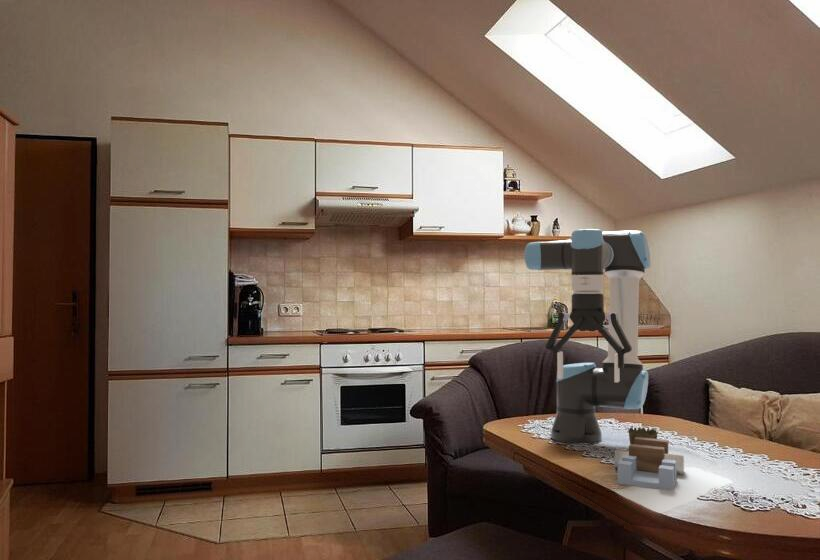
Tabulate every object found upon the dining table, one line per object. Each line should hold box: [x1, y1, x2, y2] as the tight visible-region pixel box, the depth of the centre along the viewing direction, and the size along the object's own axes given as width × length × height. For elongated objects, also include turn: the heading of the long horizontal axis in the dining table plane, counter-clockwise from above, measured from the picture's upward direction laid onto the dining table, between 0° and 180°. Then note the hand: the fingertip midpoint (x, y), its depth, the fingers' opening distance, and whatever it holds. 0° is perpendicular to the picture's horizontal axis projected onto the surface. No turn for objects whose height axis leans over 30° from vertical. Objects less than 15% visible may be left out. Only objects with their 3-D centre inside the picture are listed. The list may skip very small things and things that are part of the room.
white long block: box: [613, 448, 685, 476], centre depth 165 cm, size 5×16×5 cm, turn 63°
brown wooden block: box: [628, 437, 669, 473], centre depth 166 cm, size 12×8×7 cm
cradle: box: [617, 455, 678, 491], centre depth 155 cm, size 9×12×5 cm
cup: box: [627, 426, 659, 445], centre depth 177 cm, size 8×7×8 cm
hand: (588, 380), depth 161 cm, fingers open, 13 cm apart
